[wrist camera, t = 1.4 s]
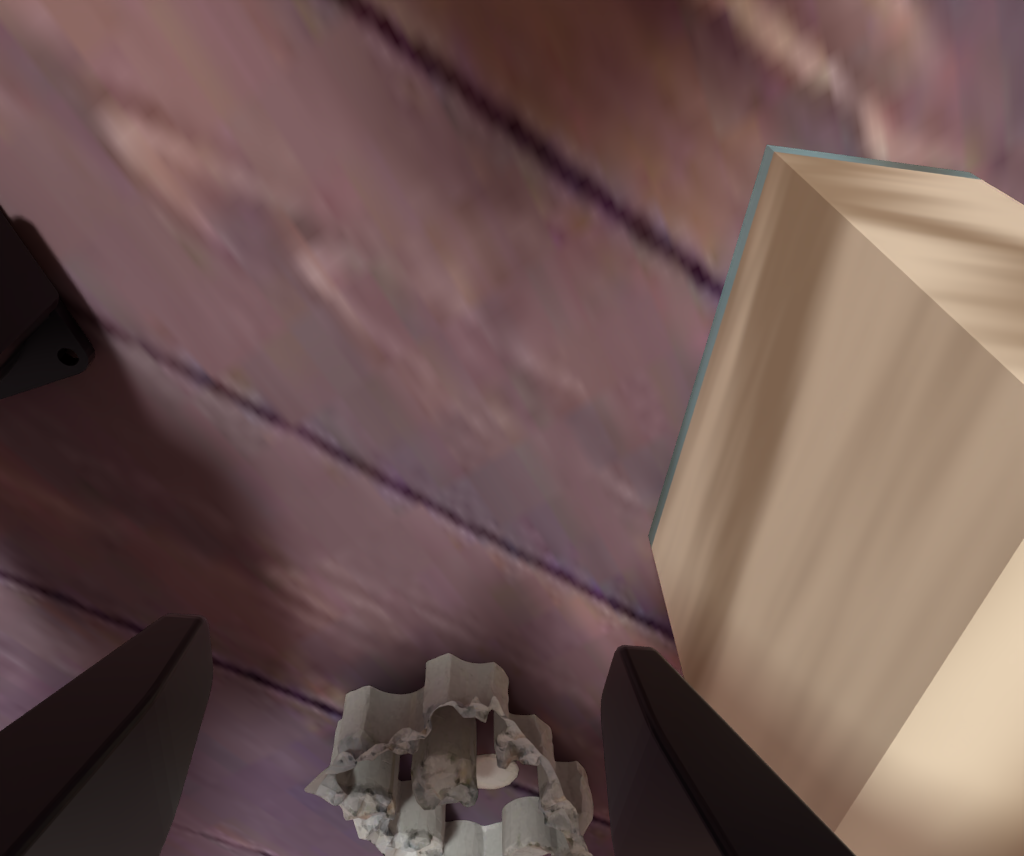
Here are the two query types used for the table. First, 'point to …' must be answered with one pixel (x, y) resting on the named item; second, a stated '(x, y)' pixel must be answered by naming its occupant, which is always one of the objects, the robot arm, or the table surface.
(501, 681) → the egg carton
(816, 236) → the birch block
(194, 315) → the table surface
